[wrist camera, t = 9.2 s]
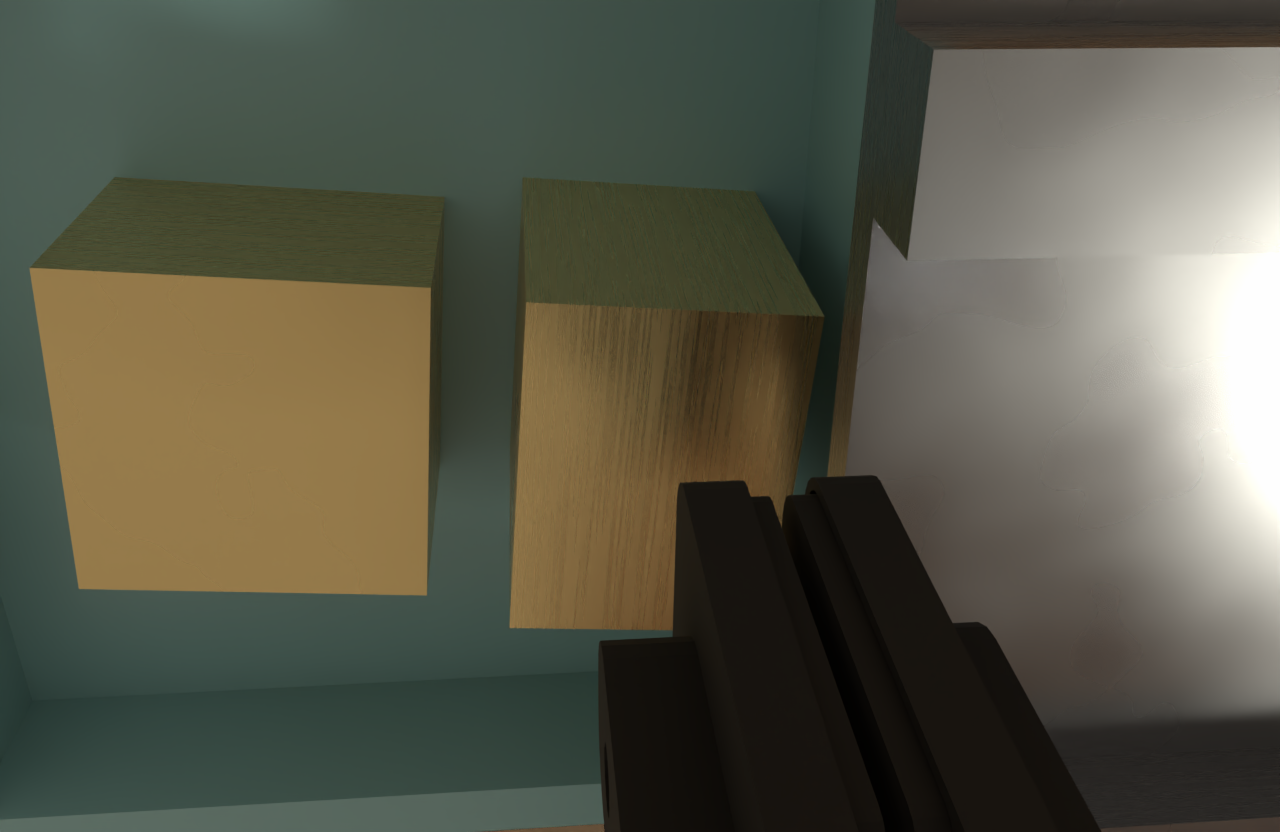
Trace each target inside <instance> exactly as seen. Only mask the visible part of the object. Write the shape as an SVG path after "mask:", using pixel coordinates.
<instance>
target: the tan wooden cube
mask: <svg viewBox="0 0 1280 832" xmlns="http://www.w3.org/2000/svg"><path fill="white" fill-rule="evenodd" d="M443 254H444V197H439V196H422V195H405V194H389V193H372V192H355V191H338V190H321V189H305V188H288V187H271V186H254V185H238V184H221V183H204V182H187V181H170V180H154V179H137V178H120V177H114V178H113V179H112V180H111V181H110V182H109V184H108V185H107V186H106V187H105V188H104V189H103V190H102V191H101V192H100V193H99V194H98V195H97V196H96V197H95V198H94V200H93V201H92V202H91V203H90V204H89V205H88V206H87V207H86V208H85V209H84V210H83V211H82V212H81V213H80V214H79V215H78V217H77V218H76V219H75V220H74V221H73V222H72V223H71V224H70V225H69V226H68V227H67V228H66V229H65V230H64V231H63V233H62V234H61V235H60V236H59V237H58V238H57V239H56V240H55V241H54V242H53V243H52V244H51V245H50V246H49V247H48V249H47V250H46V251H45V252H44V253H43V254H42V255H41V256H40V257H39V258H38V259H37V260H36V261H35V262H34V263H33V264H32V266H31V267H30V275H31V281H32V288H33V294H34V301H35V307H36V314H37V320H38V327H39V333H40V340H41V346H42V353H43V359H44V366H45V372H46V379H47V385H48V392H49V398H50V405H51V411H52V418H53V424H54V431H55V437H56V444H57V450H58V457H59V463H60V470H61V476H62V483H63V489H64V496H65V502H66V509H67V515H68V521H69V528H70V534H71V541H72V547H73V554H74V560H75V567H76V573H77V580H78V586H79V589H107V590H161V591H215V592H269V593H323V594H377V595H427V590H428V580H429V570H430V560H431V550H432V540H433V530H434V520H435V510H436V500H437V490H438V480H439V470H440V424H441V367H442V310H443Z"/></svg>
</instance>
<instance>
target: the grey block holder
mask: <svg viewBox="0 0 1280 832" xmlns="http://www.w3.org/2000/svg"><path fill="white" fill-rule="evenodd" d="M860 475H874V476H877V477H878V479H879V480H880V481H881V483H882V485H883V487H884V489H885V491H886V493H887V495H888V497H889V499H890V501H891V503H892V505H893V507H894V509H895V511H896V513H897V515H898V517H899V518H900V520H901V522H902V524H903V526H904V528H905V530H906V532H907V534H908V536H909V538H910V540H911V542H912V544H913V546H914V548H915V550H916V552H917V554H918V556H919V558H920V560H921V562H922V564H923V566H924V568H925V570H926V572H927V574H928V576H929V578H930V579H931V581H932V583H933V585H934V587H935V589H936V591H937V593H938V595H939V597H940V599H941V601H942V603H943V605H944V607H945V609H946V611H947V613H948V615H949V617H950V619H951V621H952V623H964V622H979V623H981V624H983V625H985V626H987V627H988V629H989V630H990V631H991V633H992V634H993V636H994V637H995V638H996V640H997V642H998V644H999V645H1000V647H1001V649H1002V651H1003V653H1004V654H1005V656H1006V658H1007V660H1008V662H1009V664H1010V665H1011V667H1012V669H1013V671H1014V673H1015V675H1016V676H1017V678H1018V680H1019V682H1020V684H1021V686H1022V687H1023V689H1024V691H1025V693H1026V695H1027V696H1028V698H1029V700H1030V702H1031V704H1032V706H1033V707H1034V709H1035V711H1036V713H1037V715H1038V717H1039V718H1040V720H1041V722H1042V724H1043V726H1044V727H1045V729H1046V731H1047V733H1048V735H1049V737H1050V738H1051V740H1052V742H1053V744H1054V746H1055V748H1056V749H1057V751H1058V753H1059V755H1060V757H1061V758H1062V760H1063V762H1064V764H1065V766H1066V768H1067V769H1068V771H1069V773H1070V775H1071V777H1072V779H1073V780H1074V782H1075V784H1076V786H1077V788H1078V789H1079V791H1080V793H1081V795H1082V797H1083V799H1084V800H1085V802H1086V804H1087V806H1088V808H1089V810H1090V811H1091V813H1092V815H1093V817H1094V819H1095V820H1096V822H1097V824H1098V826H1099V828H1100V830H1101V831H1102V832H1280V0H875V10H874V20H873V30H872V40H871V49H870V59H869V69H868V79H867V89H866V99H865V108H864V118H863V128H862V138H861V148H860V158H859V168H858V177H857V187H856V197H855V207H854V217H853V227H852V237H851V246H850V256H849V266H848V276H847V286H846V296H845V305H844V315H843V325H842V335H841V345H840V355H839V365H838V374H837V384H836V394H835V404H834V414H833V424H832V433H831V443H830V453H829V463H828V473H827V477H834V476H860Z"/></svg>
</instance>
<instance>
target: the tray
mask: <svg viewBox="0 0 1280 832" xmlns="http://www.w3.org/2000/svg"><path fill="white" fill-rule="evenodd" d="M874 10H875V0H0V832H482V831H498V830H514V829H530V828H546V827H561V826H577V825H593V824H604V817H603V804H602V790H601V773H600V751H599V714H598V650H599V642H600V641H602V640H622V639H642V638H662V637H672V635H673V630H613V629H543V628H509V583H510V435H511V414H512V392H513V371H514V350H515V329H516V308H517V287H518V266H519V245H520V223H521V202H522V181H523V177H525V178H542V179H558V180H575V181H591V182H608V183H624V184H640V185H657V186H673V187H690V188H706V189H723V190H739V191H755V193H756V194H757V196H758V198H759V200H760V202H761V203H762V205H763V207H764V209H765V211H766V212H767V214H768V216H769V218H770V219H771V221H772V223H773V225H774V227H775V228H776V230H777V232H778V234H779V236H780V237H781V239H782V241H783V243H784V245H785V246H786V248H787V250H788V252H789V254H790V255H791V257H792V259H793V261H794V262H795V264H796V266H797V268H798V270H799V271H800V273H801V275H802V277H803V279H804V280H805V282H806V284H807V286H808V288H809V289H810V291H811V293H812V295H813V297H814V298H815V300H816V302H817V304H818V305H819V307H820V309H821V311H822V313H823V314H824V316H825V318H824V323H823V329H822V335H821V340H820V346H819V351H818V357H817V363H816V368H815V374H814V379H813V385H812V391H811V396H810V402H809V407H808V413H807V419H806V424H805V430H804V436H803V441H802V447H801V452H800V458H799V464H798V469H797V475H796V480H795V486H794V492H793V495H802V494H805V490H806V486H807V483H808V481H809V480H810V478H811V477H827V473H828V463H829V453H830V443H831V433H832V424H833V414H834V404H835V394H836V384H837V374H838V365H839V355H840V345H841V335H842V325H843V315H844V305H845V296H846V286H847V276H848V266H849V256H850V246H851V237H852V227H853V217H854V207H855V197H856V187H857V177H858V168H859V158H860V148H861V138H862V128H863V118H864V108H865V99H866V89H867V79H868V69H869V59H870V49H871V40H872V30H873V20H874ZM114 177H120V178H137V179H154V180H170V181H187V182H204V183H221V184H238V185H254V186H271V187H288V188H305V189H321V190H338V191H355V192H372V193H389V194H405V195H422V196H439V197H444V254H443V310H442V367H441V424H440V470H439V480H438V490H437V500H436V510H435V520H434V530H433V540H432V550H431V560H430V570H429V580H428V590H427V595H377V594H323V593H269V592H215V591H161V590H107V589H79V586H78V580H77V573H76V567H75V560H74V554H73V547H72V541H71V534H70V528H69V521H68V515H67V509H66V502H65V496H64V489H63V483H62V476H61V470H60V463H59V457H58V450H57V444H56V437H55V431H54V424H53V418H52V411H51V405H50V398H49V392H48V385H47V379H46V372H45V366H44V359H43V353H42V346H41V340H40V333H39V327H38V320H37V314H36V307H35V301H34V294H33V288H32V281H31V275H30V267H31V266H32V264H33V263H34V262H35V261H36V260H37V259H38V258H39V257H40V256H41V255H42V254H43V253H44V252H45V251H46V250H47V249H48V247H49V246H50V245H51V244H52V243H53V242H54V241H55V240H56V239H57V238H58V237H59V236H60V235H61V234H62V233H63V231H64V230H65V229H66V228H67V227H68V226H69V225H70V224H71V223H72V222H73V221H74V220H75V219H76V218H77V217H78V215H79V214H80V213H81V212H82V211H83V210H84V209H85V208H86V207H87V206H88V205H89V204H90V203H91V202H92V201H93V200H94V198H95V197H96V196H97V195H98V194H99V193H100V192H101V191H102V190H103V189H104V188H105V187H106V186H107V185H108V184H109V182H110V181H111V180H112V179H113V178H114Z"/></svg>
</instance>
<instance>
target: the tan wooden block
mask: <svg viewBox="0 0 1280 832" xmlns="http://www.w3.org/2000/svg"><path fill="white" fill-rule="evenodd" d="M824 318H825V316H824V314H823V313H822V311H821V309H820V307H819V305H818V304H817V302H816V300H815V298H814V297H813V295H812V293H811V291H810V289H809V288H808V286H807V284H806V282H805V280H804V279H803V277H802V275H801V273H800V271H799V270H798V268H797V266H796V264H795V262H794V261H793V259H792V257H791V255H790V254H789V252H788V250H787V248H786V246H785V245H784V243H783V241H782V239H781V237H780V236H779V234H778V232H777V230H776V228H775V227H774V225H773V223H772V221H771V219H770V218H769V216H768V214H767V212H766V211H765V209H764V207H763V205H762V203H761V202H760V200H759V198H758V196H757V194H756V193H755V191H739V190H723V189H706V188H690V187H673V186H657V185H640V184H624V183H608V182H591V181H575V180H558V179H542V178H525V177H523V181H522V202H521V223H520V245H519V266H518V287H517V308H516V329H515V350H514V371H513V392H512V414H511V435H510V583H509V628H543V629H613V630H673V604H674V573H675V542H676V511H677V493H678V487H679V484H680V482H705V481H730V480H743V481H745V482H746V485H747V487H748V490H749V493H750V496H751V497H752V496H769V497H771V499H772V501H773V504H774V507H775V510H776V513H777V516H778V519H779V521H780V524H781V527H782V519H783V509H784V502H785V499H786V497H787V496H788V495H793V492H794V486H795V480H796V475H797V469H798V464H799V458H800V452H801V447H802V441H803V436H804V430H805V424H806V419H807V413H808V407H809V402H810V396H811V391H812V385H813V379H814V374H815V368H816V363H817V357H818V351H819V346H820V340H821V335H822V329H823V323H824Z"/></svg>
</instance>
